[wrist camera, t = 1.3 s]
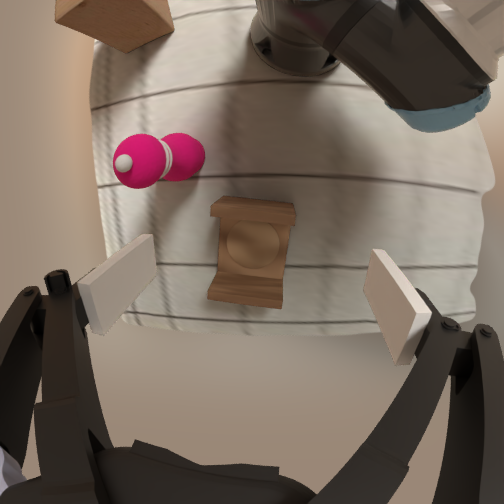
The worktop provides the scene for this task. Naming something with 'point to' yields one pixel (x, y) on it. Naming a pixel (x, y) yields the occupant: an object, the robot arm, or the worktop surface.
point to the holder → (251, 251)
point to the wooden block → (117, 20)
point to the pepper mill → (157, 159)
